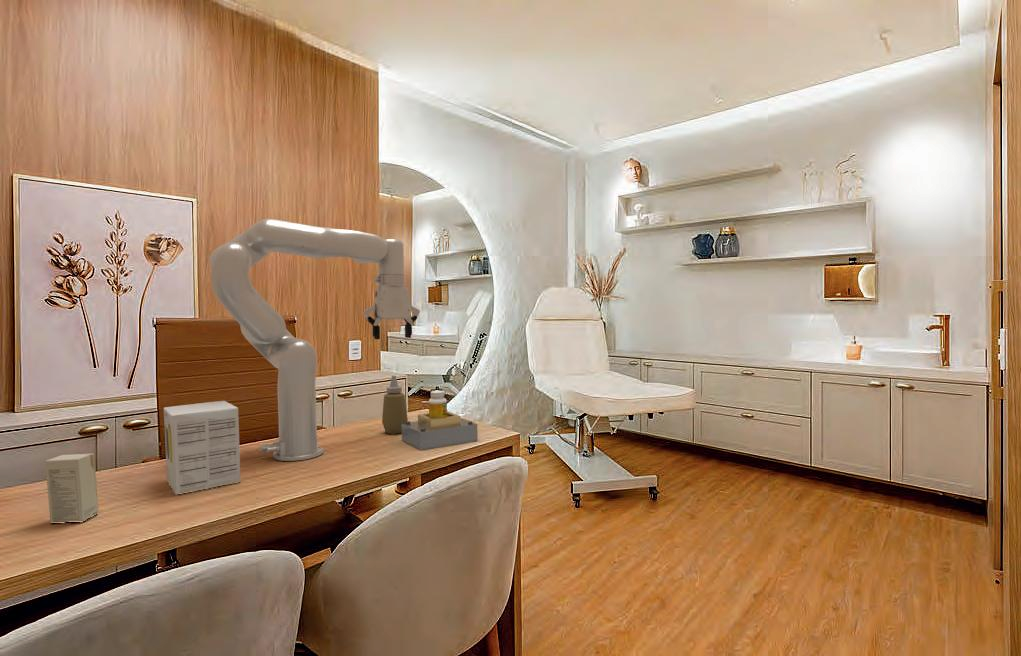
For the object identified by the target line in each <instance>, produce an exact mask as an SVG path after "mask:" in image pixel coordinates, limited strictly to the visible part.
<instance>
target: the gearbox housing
mask: <svg viewBox="0 0 1021 656" xmlns="http://www.w3.org/2000/svg"><path fill="white" fill-rule="evenodd" d="M401 440H402V441H403V442H404V443H407V444H408V445H411V446H412V447H414V448H416V449H418V450H419V451H424V450H431V449H436V448H443V447H448V446H453V445H454V444H455V445H459V444H465V443H471V442H472V443H473V442H476V441H477V440H479V438H478V423H476V422H473V421H472V420H468V419H465V418H463V417H461V415H459V414H456V413H453V412H451V411H448V410H447V417H442V418H435V419H432V418H430V417H429V412H428V413H419V414H417V420H416V421H411V420H408V421H407V422H406V423H402V433H401ZM477 442H478V441H477Z"/></svg>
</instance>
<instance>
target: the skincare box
mask: <svg viewBox="0 0 1021 656" xmlns="http://www.w3.org/2000/svg"><path fill="white" fill-rule="evenodd" d="M44 464H45V471H46V472H45V475H46V485H47V496H48V497H47V498H48V509H49V520H50V522H69V521H84V520H86V519H88V518H89V517H91V516H93V515H95V514H97V513H100V511H99V501H98V490H97V489H98V487H97V475H96V473H97V472H96V461H95V453H94V452H93V453H79V454H78V453H75V454H73V453H72V454H71V453H70V454H61V455H58V456H55V457H53V458H52V457H51V458H49V459H47V460H45V461H44ZM88 520H89V519H88ZM86 521H87V520H86Z"/></svg>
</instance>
